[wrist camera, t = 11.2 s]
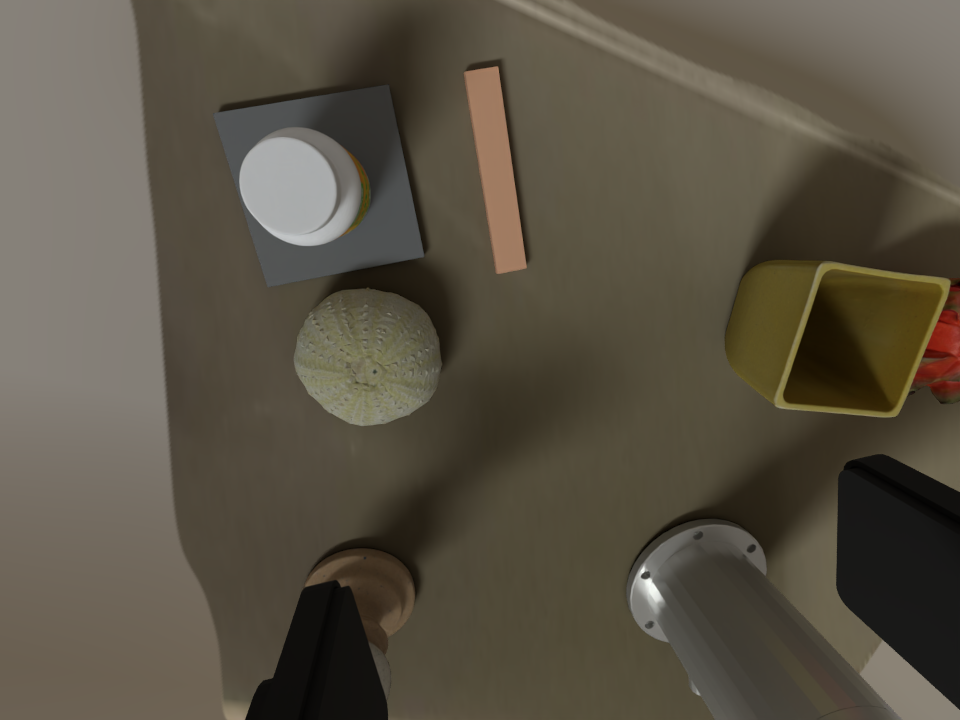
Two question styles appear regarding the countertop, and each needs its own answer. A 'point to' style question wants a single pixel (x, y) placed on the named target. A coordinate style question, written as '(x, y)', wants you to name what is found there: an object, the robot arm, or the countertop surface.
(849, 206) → the countertop surface
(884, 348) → the flower pot
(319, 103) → the pad
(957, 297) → the dragon fruit
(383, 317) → the sea urchin shell
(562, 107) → the countertop surface
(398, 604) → the candle holder
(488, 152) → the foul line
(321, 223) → the supplement bottle
